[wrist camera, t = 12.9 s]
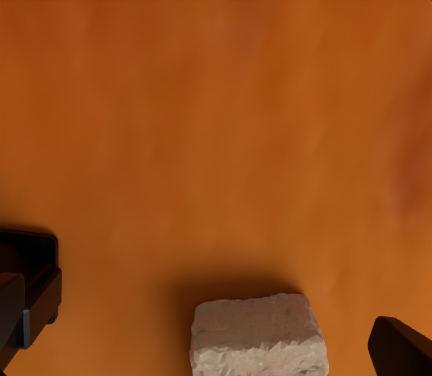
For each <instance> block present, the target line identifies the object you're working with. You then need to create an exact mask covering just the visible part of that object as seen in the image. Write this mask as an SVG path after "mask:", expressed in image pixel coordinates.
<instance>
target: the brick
mask: <svg viewBox="0 0 432 376" xmlns="http://www.w3.org/2000/svg"><path fill="white" fill-rule="evenodd" d="M191 331H192V338H191V350H190V351H189V353H190V363H191V367H192V374H193V376H328V372H329V364H328V359H327V355H326V345H325V342H324V338H323V337H322V333H321V330H320V327H319V325H318V323H317V321H316V318H315V316H314V314H313V312H312V309H311V306H310V303H309V300H308V298H307V297H305V296H304V295H302V294H295V293H292V294H285V293H278V294H276V295H273V296H272V295H271V296H269V297H263V298H255V299H253V298H249V299H247V300H246V299H245V300H240V299H235V300H227V299H223V300H215V301H210V302H204V303H202V304H200V305H198V306H197V307H196V308H195V315H194V322H193V323H192V326H191Z"/></svg>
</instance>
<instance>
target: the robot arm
mask: <svg viewBox="0 0 432 376" xmlns="http://www.w3.org/2000/svg"><path fill="white" fill-rule="evenodd" d="M46 241H49V242H50V243H51V245H48V244H47V242H46ZM61 281H62V271H61V269H60V268H59V267H58V239H57V238H56V237H55V236H54V235H50V234H42V233H34V232H26V231H18V230H9V229H1V228H0V376H6V374H5V373H4V372H3V371H4V370H5V368H6V367H7V365H8V364H9V363H10V361H11V360H12V359H13V357H14V356H15V354H16V353H17V352H18V350H19V349H24V350H26V349H27V348H29V347H30V346H31V345H32V344H33V342H34V341H35V339H36V338H37V336H38V335H39V333H40V332H41V331H42V329H43V328H44V326H45V325H46V324H52V323H54V321H55V320H56V319H57V316H58V306H59V305H60V303H61ZM368 351H369V354H370V357H371V360H372V363H373V366H374V368H375V371H376V374H377V376H432V340H430V339H428V338H427V337H425V336H424V335H422V334H420V333H419V332H417V331H416V330H414V329H412V328H411V327H409V326H408V325H406V324H404V323H403V322H401V321H400V320H398V319H396V318H394V317H386V316H379V317H377V318H376V320H375V323H374V325H373V328H372V331H371V334H370V337H369V340H368Z"/></svg>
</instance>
